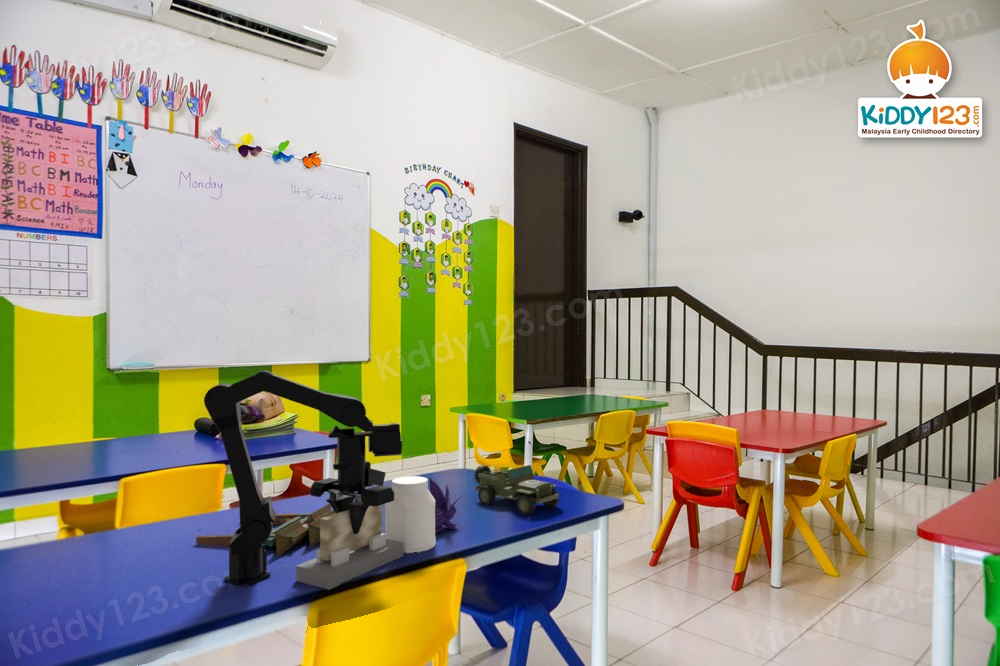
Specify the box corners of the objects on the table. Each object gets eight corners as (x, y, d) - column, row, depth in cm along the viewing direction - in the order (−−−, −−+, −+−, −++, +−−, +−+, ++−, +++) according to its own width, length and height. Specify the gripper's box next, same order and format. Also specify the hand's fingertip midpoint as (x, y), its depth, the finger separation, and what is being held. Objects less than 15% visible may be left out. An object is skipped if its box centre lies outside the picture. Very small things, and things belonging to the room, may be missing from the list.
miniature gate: (251, 504, 176) (356, 501, 170) (253, 525, 176) (358, 522, 170) (184, 535, 150) (305, 532, 144) (185, 559, 150) (307, 558, 144)
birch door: (327, 560, 130) (327, 517, 130) (320, 558, 131) (320, 515, 131) (381, 538, 144) (381, 499, 144) (375, 537, 145) (374, 498, 145)
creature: (475, 525, 167) (474, 476, 167) (417, 541, 155) (416, 489, 155) (452, 518, 174) (452, 471, 174) (395, 533, 161) (394, 483, 161)
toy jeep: (534, 518, 174) (534, 476, 174) (469, 502, 192) (469, 464, 192) (563, 509, 183) (563, 469, 183) (498, 494, 200) (497, 458, 200)
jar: (443, 544, 153) (442, 479, 153) (414, 555, 145) (413, 487, 145) (407, 535, 160) (406, 473, 160) (377, 546, 152) (377, 480, 152)
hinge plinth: (329, 589, 126) (328, 560, 126) (296, 580, 131) (295, 553, 131) (403, 556, 145) (403, 530, 145) (372, 549, 149) (372, 525, 149)
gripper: (411, 455, 140) (411, 529, 140) (346, 448, 149) (346, 517, 149) (375, 464, 130) (375, 544, 130) (308, 456, 140) (309, 530, 140)
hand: (352, 532), depth 138 cm, fingers closed on birch door, 2 cm apart
